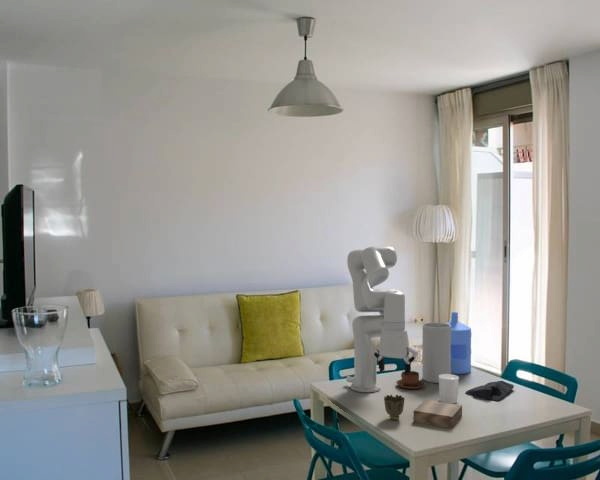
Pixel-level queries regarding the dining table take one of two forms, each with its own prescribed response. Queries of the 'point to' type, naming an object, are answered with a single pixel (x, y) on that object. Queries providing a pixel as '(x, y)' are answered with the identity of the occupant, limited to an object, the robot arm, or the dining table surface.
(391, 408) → the cup
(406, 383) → the cup and saucer
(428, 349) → the cylinder vase
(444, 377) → the white cup
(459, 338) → the water jug
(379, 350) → the robot arm
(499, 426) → the dining table surface
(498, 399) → the black crumpled fabric piece
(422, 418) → the walnut plinth
